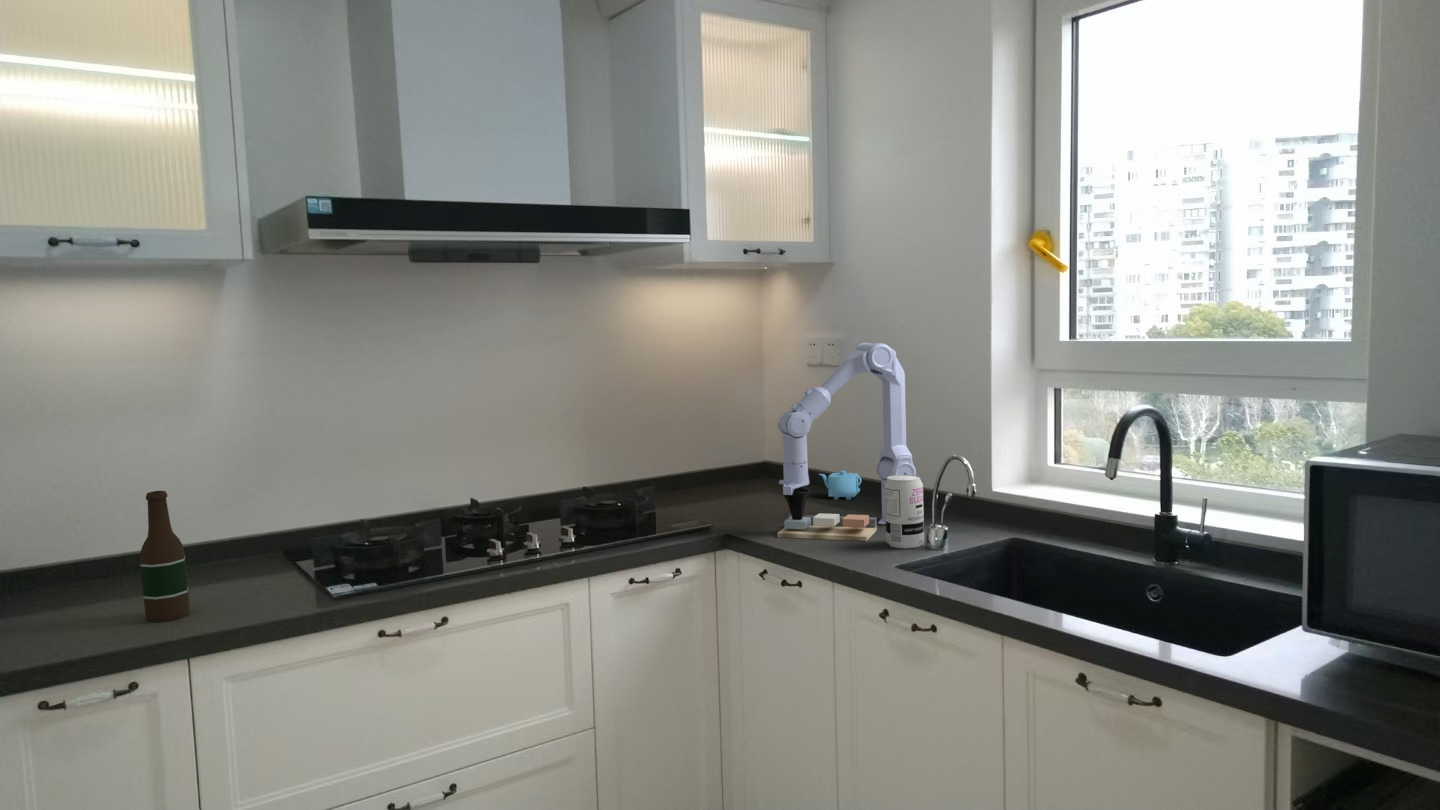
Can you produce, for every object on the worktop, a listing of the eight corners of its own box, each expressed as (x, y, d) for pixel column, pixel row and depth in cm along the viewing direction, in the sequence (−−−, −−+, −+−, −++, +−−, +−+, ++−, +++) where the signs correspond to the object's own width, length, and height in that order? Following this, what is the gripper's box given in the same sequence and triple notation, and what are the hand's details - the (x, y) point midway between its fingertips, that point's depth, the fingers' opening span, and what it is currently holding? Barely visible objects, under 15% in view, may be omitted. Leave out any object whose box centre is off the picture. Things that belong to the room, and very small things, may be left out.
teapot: (816, 499, 274) (815, 472, 273) (821, 495, 280) (820, 468, 279) (860, 500, 270) (859, 473, 269) (864, 496, 276) (863, 469, 275)
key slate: (811, 524, 237) (810, 517, 236) (805, 529, 232) (804, 521, 232) (790, 523, 238) (790, 516, 238) (784, 528, 234) (784, 521, 234)
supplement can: (889, 539, 225) (887, 474, 223) (926, 540, 222) (924, 474, 221) (883, 548, 217) (881, 480, 216) (922, 549, 215) (920, 481, 213)
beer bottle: (199, 609, 194) (187, 487, 191) (178, 621, 186) (166, 494, 184) (158, 611, 193) (146, 489, 191) (136, 623, 186) (123, 496, 183)
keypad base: (876, 530, 235) (876, 517, 234) (866, 541, 224) (866, 528, 224) (791, 526, 242) (790, 514, 242) (777, 537, 232) (776, 524, 232)
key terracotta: (869, 522, 231) (868, 515, 231) (864, 527, 227) (864, 519, 227) (848, 521, 233) (847, 514, 233) (842, 526, 229) (842, 519, 228)
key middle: (839, 521, 234) (839, 514, 234) (834, 526, 229) (834, 518, 229) (819, 520, 236) (818, 513, 236) (813, 525, 231) (813, 517, 231)
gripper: (788, 457, 242) (790, 512, 243) (769, 467, 228) (771, 525, 230) (816, 457, 239) (818, 513, 241) (799, 467, 226) (801, 526, 227)
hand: (797, 519), depth 235 cm, fingers closed, pressing on key slate
